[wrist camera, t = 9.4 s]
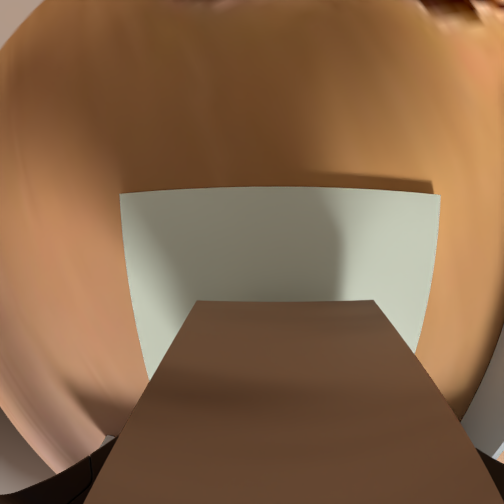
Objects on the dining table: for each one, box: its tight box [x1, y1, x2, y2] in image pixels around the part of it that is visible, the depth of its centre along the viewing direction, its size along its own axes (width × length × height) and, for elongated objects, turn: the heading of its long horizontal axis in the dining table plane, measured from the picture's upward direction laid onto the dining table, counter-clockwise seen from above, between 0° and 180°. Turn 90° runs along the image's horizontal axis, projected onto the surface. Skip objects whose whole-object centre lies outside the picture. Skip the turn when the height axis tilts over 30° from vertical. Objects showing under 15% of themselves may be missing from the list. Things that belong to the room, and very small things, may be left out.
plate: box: [120, 187, 441, 381], centre depth 10 cm, size 11×11×1 cm
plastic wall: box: [100, 325, 504, 460], centre depth 9 cm, size 16×22×4 cm
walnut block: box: [83, 300, 504, 504], centre depth 5 cm, size 5×5×7 cm
